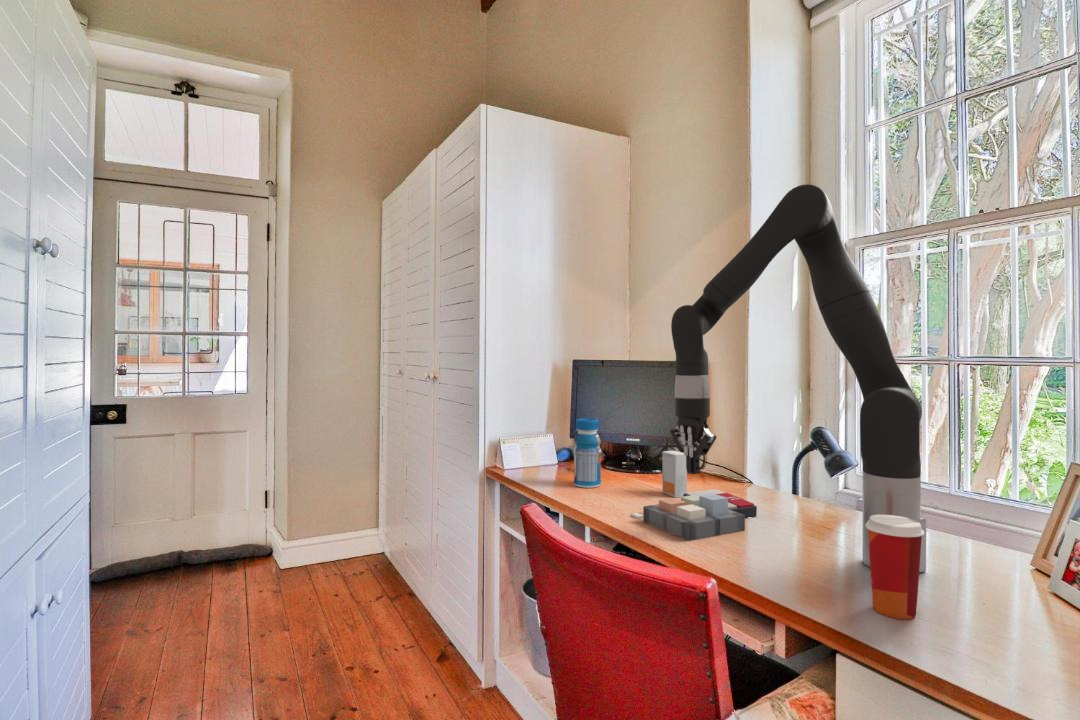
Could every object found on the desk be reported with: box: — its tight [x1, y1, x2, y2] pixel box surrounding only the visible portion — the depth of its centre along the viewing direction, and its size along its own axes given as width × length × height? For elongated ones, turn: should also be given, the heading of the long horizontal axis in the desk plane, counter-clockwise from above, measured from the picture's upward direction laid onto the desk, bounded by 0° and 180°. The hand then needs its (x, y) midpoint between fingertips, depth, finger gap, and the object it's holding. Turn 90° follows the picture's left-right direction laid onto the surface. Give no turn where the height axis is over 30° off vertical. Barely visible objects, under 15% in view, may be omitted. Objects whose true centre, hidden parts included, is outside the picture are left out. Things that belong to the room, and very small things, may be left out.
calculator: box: [683, 488, 758, 519], centre depth 144 cm, size 11×4×15 cm
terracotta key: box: [658, 497, 686, 513], centre depth 133 cm, size 4×4×4 cm
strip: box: [630, 511, 643, 520], centre depth 142 cm, size 3×16×1 cm, turn 116°
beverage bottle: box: [572, 417, 602, 489], centre depth 173 cm, size 8×8×20 cm
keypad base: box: [642, 503, 746, 542], centre depth 132 cm, size 16×16×4 cm
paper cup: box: [865, 515, 924, 621], centre depth 88 cm, size 8×8×14 cm
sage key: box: [680, 495, 699, 507], centre depth 136 cm, size 4×4×4 cm
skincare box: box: [661, 450, 688, 499], centre depth 161 cm, size 6×4×12 cm
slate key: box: [699, 494, 728, 516], centre depth 130 cm, size 4×4×4 cm
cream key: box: [677, 504, 706, 520], centre depth 127 cm, size 4×4×4 cm
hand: (692, 473), depth 127 cm, fingers closed
